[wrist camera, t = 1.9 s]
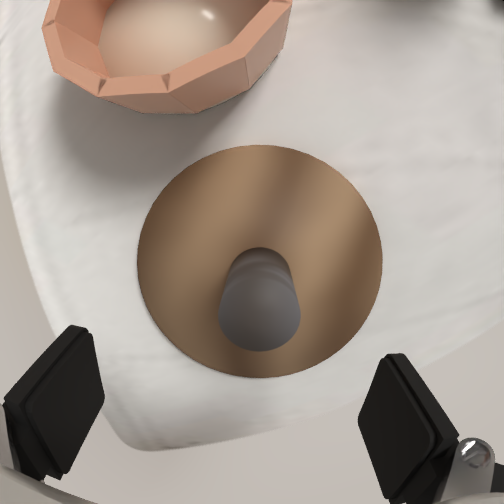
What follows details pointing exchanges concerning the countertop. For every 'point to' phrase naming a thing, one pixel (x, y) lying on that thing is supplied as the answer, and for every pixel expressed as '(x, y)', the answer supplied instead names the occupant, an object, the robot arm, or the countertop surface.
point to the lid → (259, 261)
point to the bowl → (165, 49)
